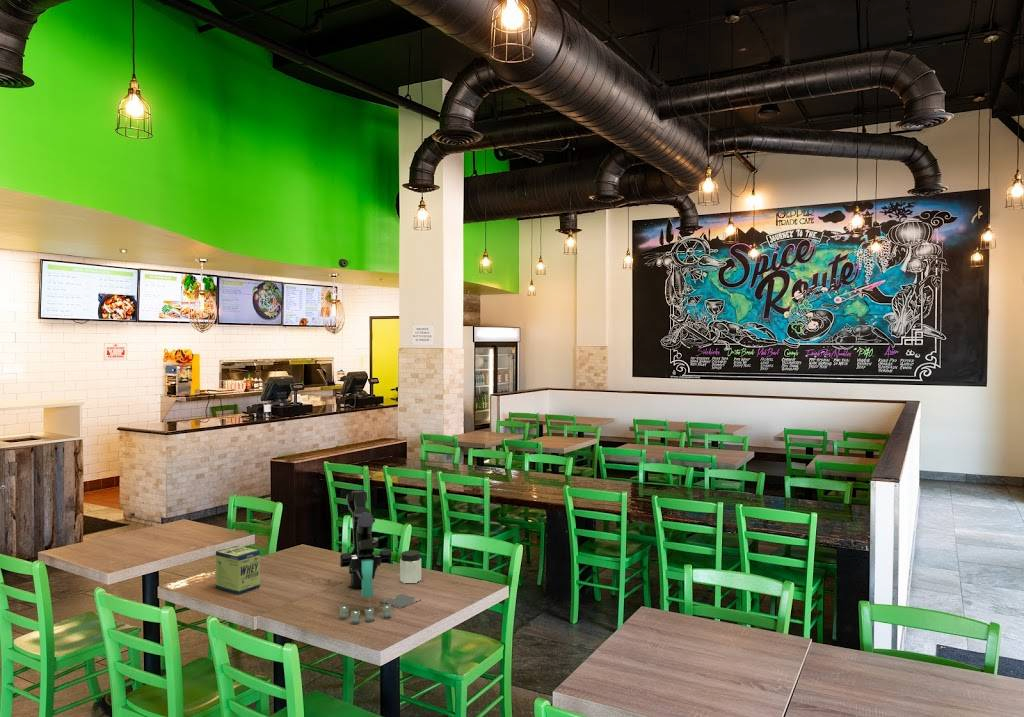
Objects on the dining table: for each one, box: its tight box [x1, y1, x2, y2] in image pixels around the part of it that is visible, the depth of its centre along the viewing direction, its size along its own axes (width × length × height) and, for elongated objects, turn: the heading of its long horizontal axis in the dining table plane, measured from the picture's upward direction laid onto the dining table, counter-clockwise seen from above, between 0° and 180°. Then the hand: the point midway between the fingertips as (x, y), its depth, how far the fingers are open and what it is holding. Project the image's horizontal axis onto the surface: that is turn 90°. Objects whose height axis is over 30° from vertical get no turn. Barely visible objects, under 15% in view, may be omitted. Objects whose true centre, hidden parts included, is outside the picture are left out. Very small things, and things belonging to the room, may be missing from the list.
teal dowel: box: [361, 559, 374, 598], centre depth 261 cm, size 4×4×13 cm
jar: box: [399, 549, 422, 584], centre depth 299 cm, size 9×8×12 cm
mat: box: [381, 593, 416, 608], centre depth 274 cm, size 11×11×1 cm
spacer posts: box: [339, 604, 392, 625], centre depth 257 cm, size 15×14×4 cm
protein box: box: [215, 545, 261, 595], centre depth 290 cm, size 10×16×16 cm
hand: (367, 578), depth 259 cm, fingers closed on teal dowel, 4 cm apart
